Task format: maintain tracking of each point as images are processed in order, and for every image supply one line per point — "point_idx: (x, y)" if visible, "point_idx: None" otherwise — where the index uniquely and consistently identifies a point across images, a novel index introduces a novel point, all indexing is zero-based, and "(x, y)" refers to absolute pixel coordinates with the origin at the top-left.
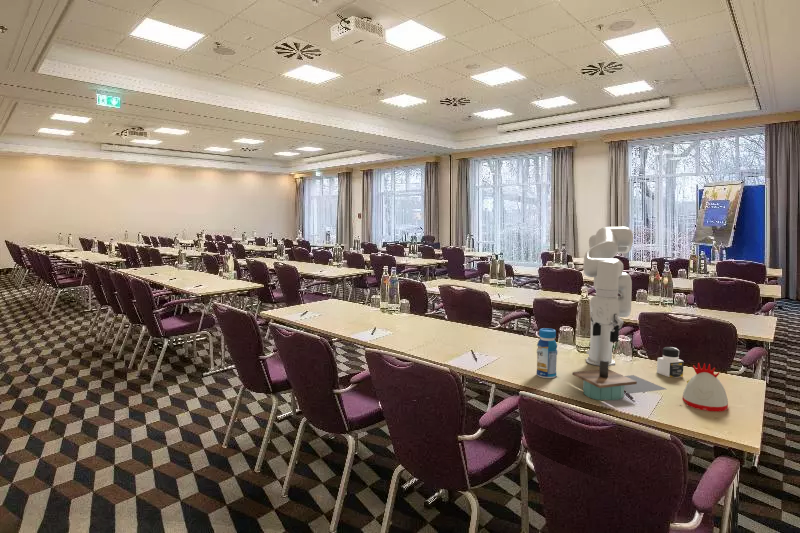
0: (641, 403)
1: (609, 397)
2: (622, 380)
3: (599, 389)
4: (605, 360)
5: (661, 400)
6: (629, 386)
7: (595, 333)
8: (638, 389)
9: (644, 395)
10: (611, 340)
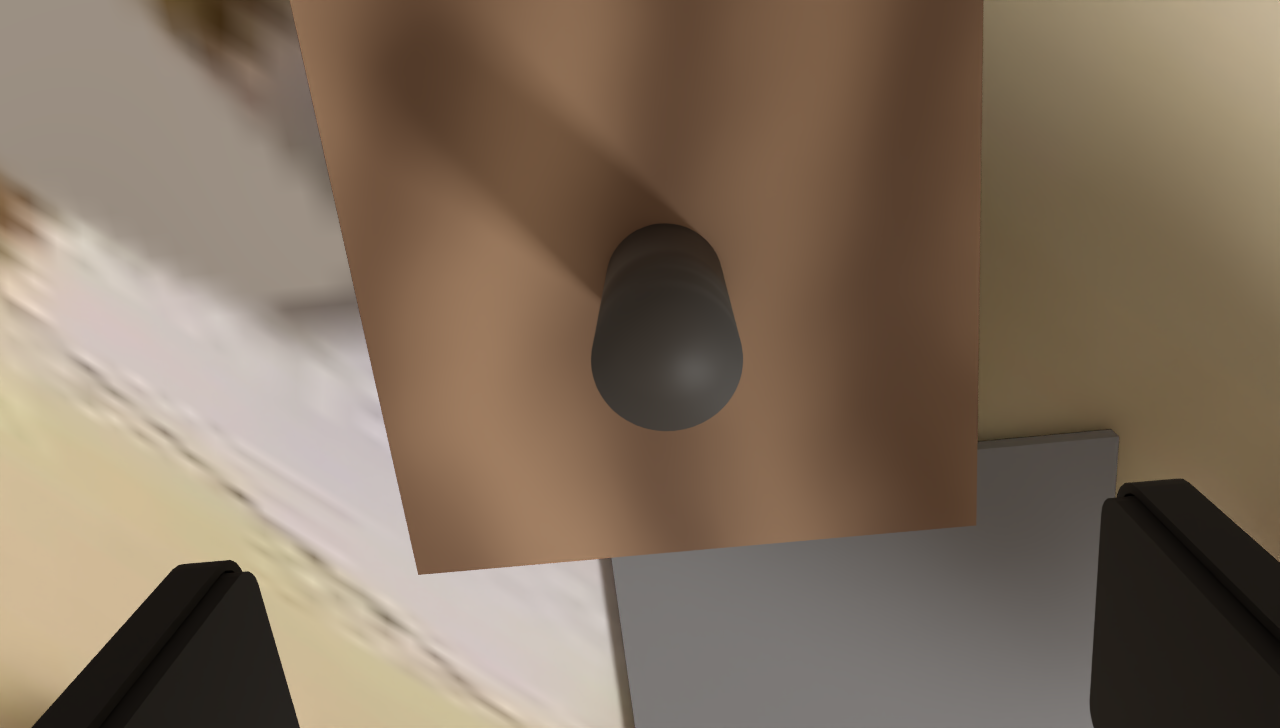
0: (366, 459)
1: None
2: (469, 432)
3: None
4: (707, 409)
5: (427, 670)
6: (792, 612)
7: (1140, 584)
8: (693, 640)
9: (570, 611)
10: (167, 601)
